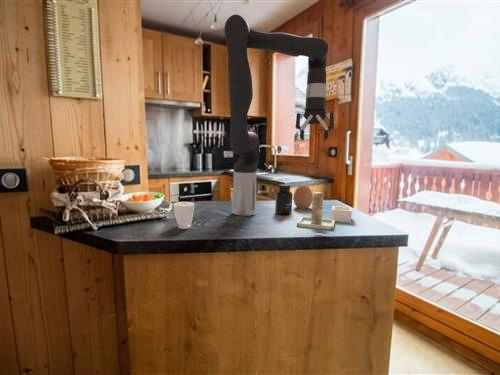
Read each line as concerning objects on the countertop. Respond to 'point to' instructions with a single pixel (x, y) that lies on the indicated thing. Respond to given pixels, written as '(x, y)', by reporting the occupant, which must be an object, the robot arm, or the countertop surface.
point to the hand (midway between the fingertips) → (313, 140)
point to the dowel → (317, 208)
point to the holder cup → (341, 214)
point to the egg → (303, 197)
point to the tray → (326, 224)
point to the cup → (184, 214)
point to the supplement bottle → (283, 200)
